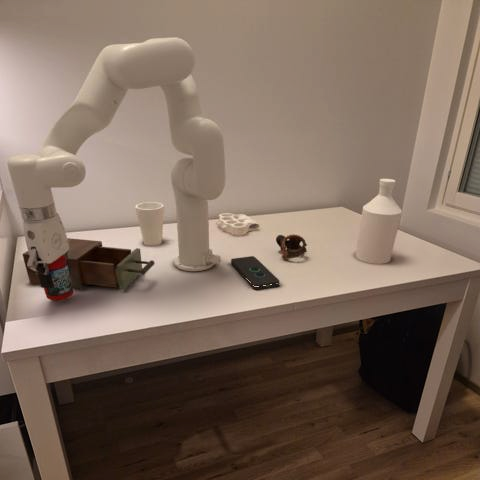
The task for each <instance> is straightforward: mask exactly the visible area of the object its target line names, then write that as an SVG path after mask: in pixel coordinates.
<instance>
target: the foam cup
mask: <svg viewBox="0 0 480 480" xmlns="http://www.w3.org/2000/svg"><path fill="white" fill-rule="evenodd" d="M164 213H165V206H164V204H163V203H162V202H157V201H147V202H141V203H140V202H139V203H137V204H136V205H135V214H136V216H137V220H138V224H139V228H140V233H141V235H142V236H141V237H142V241H143V244H144V245H146V246H148V247H150V246H152V247H153V246H159V245H161V244H162V243H163V232H164V231H163V229H164Z"/></svg>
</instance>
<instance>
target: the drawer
mask: <svg viewBox="0 0 480 480" xmlns="http://www.w3.org/2000/svg"><path fill="white" fill-rule="evenodd" d="M78 262H79V267H80V272H81V277H82V282H83V284H88V285H92V286H102V287H110V288H117V287H119V290H120V291H125V290H126V289H127V288H128V287H130V285H131V284H132V283H133V282H134V281H135V280H136V279H137V278H138V277H139V276H140V275H141V276H145V275H146V274H147V273H148V272H149V270H151V269H152V267H154V265H155V261H154V260H151V259H150V260H149V261H145V260H142V253H141V248H137V247H136V248H135V249H133V251H132V249H131V248H121V247H111V246H110V247H109V246H102V247H101V246H98V247H97V248H96V249H94V250H93V251H91V252H90V253H89V254H87V255H86V256H85V257H83V258H82V259H81V260H79V261H78ZM143 265H144V267H143Z"/></svg>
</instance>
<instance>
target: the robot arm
mask: <svg viewBox="0 0 480 480" xmlns="http://www.w3.org/2000/svg"><path fill="white" fill-rule="evenodd" d="M195 59H196V58H195V54H194V51H193V48H192V47H191V45H190V44H189V43H188V42H187V41H186V40H184V39H182V38H180V37H155V38H150V39H149V38H148V39H147V40H144V41H143V42H137V43H136V42H135V43H117V44H116V43H114V44H110V45H107V46H105V47H104V48H103V49H102V50H101V51H100V53H99V54H98V55H97V57H96V59H95V61H94V63H93V65H92V66H91V69H90V71H89V73H88V75H87V76H86V78H85V80H84V82H83V84H82V86H81V87H80V90H79V91H78V94H77V95H76V97H75V99H74V101H73V102H72V103H70V105H69V106H68V107H67V109H66V110H65V111H64V112H63V113H62V115H61V116H60V117H59V118H58V119H57V121H56V122H55V123H54V125H53V126H52V128H51V129H50V131H49V133H48V134H47V136H46V138H45V140H44V141H43V144H42V146H41V148H40V150H39V152H38V154H31V153H30V154H29V153H28V154H17V155H14V156H11V157H9V158H8V159H7V163H6V164H7V169H8V172H9V175H10V180H11V184H12V187H13V190H14V193H15V197H16V200H17V204H18V208H19V211H20V215H21V218H22V221H23V222H22V226H23V233H24V240H25V244H26V249H27V251H28V253H29V256H30V257H29V260H28V263H27V266H28V267H29V268H30V269H32V270H33V271H34V272H35V273H36V274H38V276H39V280H40V283H41V285H40V286H41V288H43V289H44V288H54V283H53V280H52V276H51V273H49V263H52V262H54V261H55V260H56V259H58V258H59V257H60V256H62V255H64V256H65V258H66V261H67V265H68V269H69V274H71V273H70V268H69V264H68V255H67V254H68V250H69V240H68V239H67V238H68V236H67V233H66V230H65V226H64V223H63V221H62V218H61V216H60V215H59V213H58V212H57V207H56V204H55V200H54V196H53V195H54V194H53V192H52V191H53V190H52V189H54V188H73V187H77V186H79V185H80V184H81V183H83V181H84V180H85V178H86V174H87V169H86V166H85V164H84V162H83V161H82V159H80V158H79V157H78V156H77V153H78V151H79V150H80V148H81V147H82V145H83V144H84V143H85V142H86V141H87V140H88V139H89V138H91V137H92V136H94V135H96V134H97V133H99V132H101V131H103V130H104V129H106V128H108V126H110V124H111V123H112V121H113V119H114V117H115V115H116V113H117V111H118V109H119V107H120V105H121V104H122V102H123V100H124V99H125V97H126V95H127V93H128V91H129V90H143V89H150V88H156V87H160V89H161V90H162V92H163V95H164V98H165V102H166V107H167V114H168V123H169V131H170V133H169V134H170V139H171V143H172V146H173V147H174V149H175V150H176V151H178V152H179V153H181V154H184V155H189V156H192V157H182V158H180V159H178V160H177V161H176V162H174V164H173V166H172V168H171V170H170V171H171V173H170V181H171V186H172V190H173V195H174V201H175V212H176V228H177V231H176V232H177V245H178V246H177V247H178V256H176V257H175V259H174V266H175V267H176V268H177V269H179V270H182V271H185V272H203V271H206V270H209V269H211V268H213V266H215V265H220V264H221V261H222V259H221V255H219V254H214V253H213V249H211V248H210V222H209V221H210V217H209V216H210V215H209V214H210V213H209V204H208V201H214V200H217V199H218V198H219V197H221V195H222V193H223V191H224V189H225V187H226V186H225V185H226V161H225V159H226V157H225V144H224V138H223V137H224V136H223V133H222V130H221V129H220V127H219V126H218V124H217V123H216V122H214V121H213V120H211V119H208V118H205V117H203V116H202V112H201V105H200V104H201V103H200V95H199V90H198V87H197V84H196V82H195V79H194V78H193V76H192V73H193V71H194V67H195V63H196V62H195ZM40 258H41V260H42V261H40ZM41 263H43V264H44V269H43V268H42V267H41Z"/></svg>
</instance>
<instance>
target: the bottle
mask: <svg viewBox="0 0 480 480" xmlns="http://www.w3.org/2000/svg"><path fill="white" fill-rule="evenodd" d="M378 184H379V188H378V189H379V190H378V194H377V195H376V196H375V197H373V198H372V199H371V200H370V201H368V202H367V203H366V204H364V205H363V206H362V211H361V217H360V223H359V229H358V237H357V243H356V250H355V258H356V259H357V260H360V261H362V262H364V263H367V264H375V265H381V264H387V263H389V262H390V261H391V259H392V255H393V250H394V246H395V242H396V238H397V233H398V230H399V225H400V221H401V217H402V213H403V210H402V208H401V207H400V206H399V205H398V204H397V202H396V201H395V199H394V198H393V191H394V190H393V189H394V187H395V186H396V180H395V179H391V178H380V179H379V183H378Z"/></svg>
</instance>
